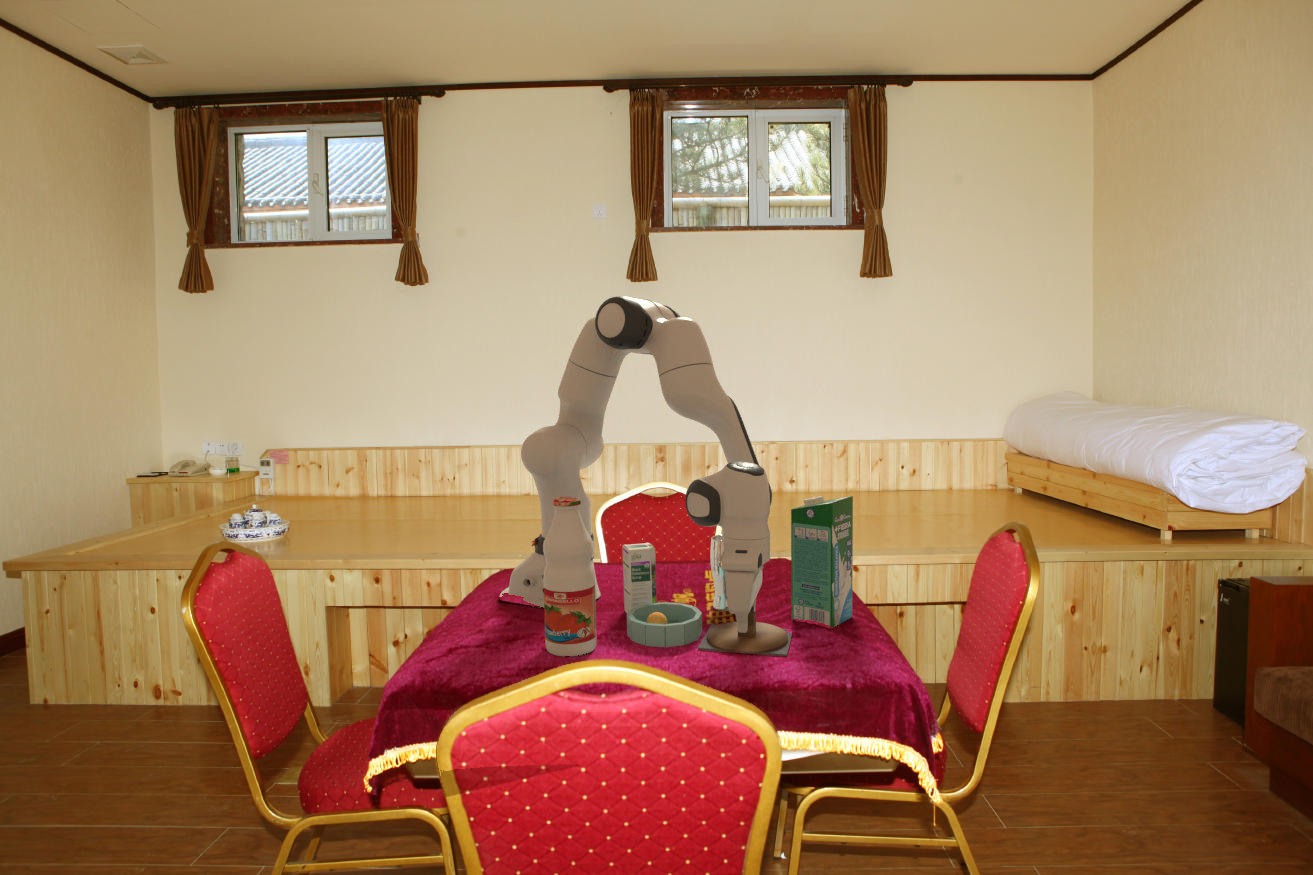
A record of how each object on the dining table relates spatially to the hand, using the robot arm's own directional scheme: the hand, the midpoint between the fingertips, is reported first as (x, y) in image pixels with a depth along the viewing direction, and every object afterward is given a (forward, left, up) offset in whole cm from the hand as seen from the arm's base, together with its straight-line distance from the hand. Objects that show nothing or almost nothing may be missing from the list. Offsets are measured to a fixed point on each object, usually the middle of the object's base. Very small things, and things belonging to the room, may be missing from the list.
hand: (746, 622), depth 148 cm
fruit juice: (-31, -11, -4) cm, 33 cm away
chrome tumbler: (-7, +19, -4) cm, 21 cm away
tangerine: (-17, -1, -1) cm, 17 cm away
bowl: (-16, 0, -3) cm, 16 cm away
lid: (0, 0, -3) cm, 3 cm away
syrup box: (-24, +11, -4) cm, 27 cm away
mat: (0, 0, -3) cm, 3 cm away
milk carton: (+13, +15, -4) cm, 21 cm away
